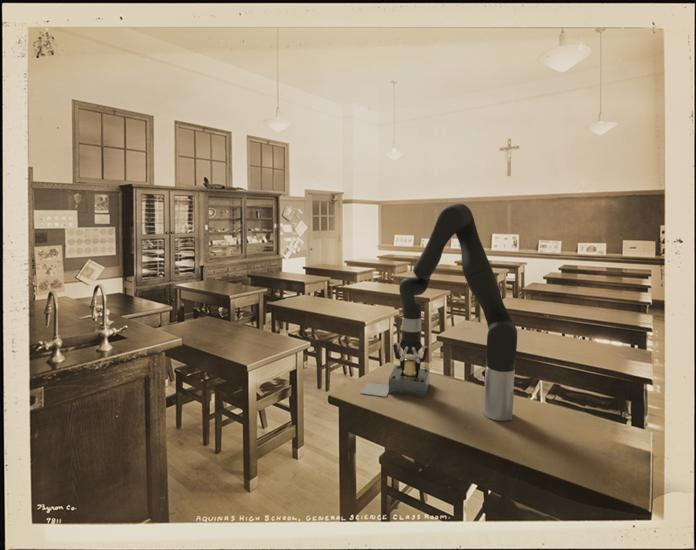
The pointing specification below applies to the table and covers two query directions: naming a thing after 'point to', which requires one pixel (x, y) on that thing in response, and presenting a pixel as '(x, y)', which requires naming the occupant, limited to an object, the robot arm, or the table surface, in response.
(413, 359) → the brass cylindrical shaft
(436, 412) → the table surface
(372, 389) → the rubber mat
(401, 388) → the grey square socket block
